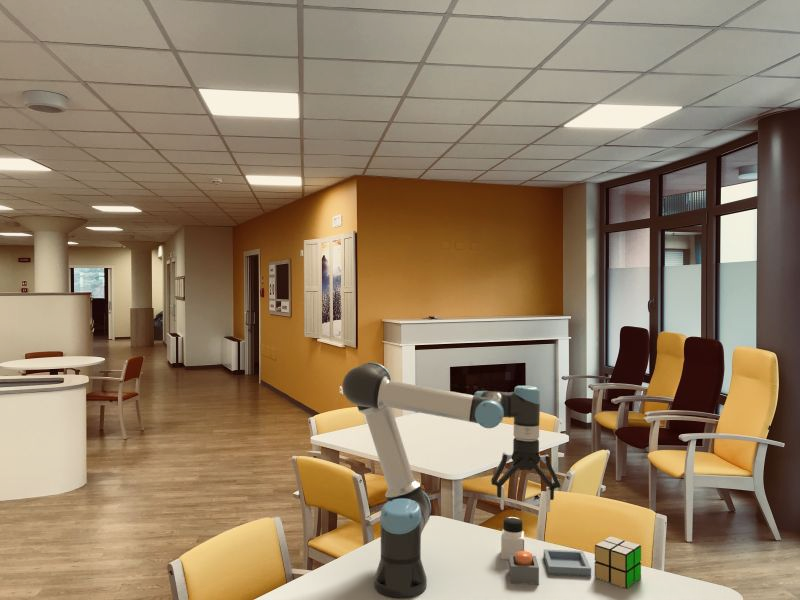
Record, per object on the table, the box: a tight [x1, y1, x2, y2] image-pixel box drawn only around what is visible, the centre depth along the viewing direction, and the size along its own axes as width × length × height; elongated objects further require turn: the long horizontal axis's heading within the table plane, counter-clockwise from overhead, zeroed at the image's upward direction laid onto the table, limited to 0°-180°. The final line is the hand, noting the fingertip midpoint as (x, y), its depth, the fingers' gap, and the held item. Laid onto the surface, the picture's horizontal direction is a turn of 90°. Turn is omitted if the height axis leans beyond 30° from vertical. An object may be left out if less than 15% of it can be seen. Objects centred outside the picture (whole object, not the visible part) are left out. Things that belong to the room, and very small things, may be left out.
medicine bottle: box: [500, 516, 525, 561], centre depth 197 cm, size 7×7×12 cm
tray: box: [543, 549, 592, 578], centre depth 190 cm, size 12×12×2 cm
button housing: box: [508, 555, 540, 586], centre depth 182 cm, size 8×8×5 cm
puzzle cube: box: [594, 536, 642, 589], centre depth 182 cm, size 10×10×10 cm
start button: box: [515, 550, 533, 566], centre depth 182 cm, size 5×5×2 cm
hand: (524, 509), depth 183 cm, fingers open, 13 cm apart
